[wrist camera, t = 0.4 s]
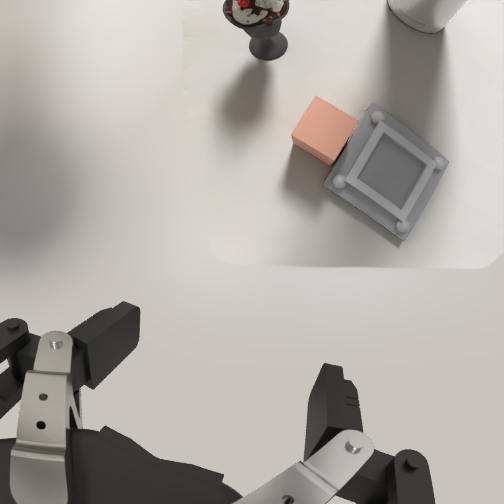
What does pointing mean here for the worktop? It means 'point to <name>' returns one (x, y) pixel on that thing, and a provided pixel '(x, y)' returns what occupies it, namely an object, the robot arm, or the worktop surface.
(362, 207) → the plate
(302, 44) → the worktop surface
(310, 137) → the block
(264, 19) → the sundae
